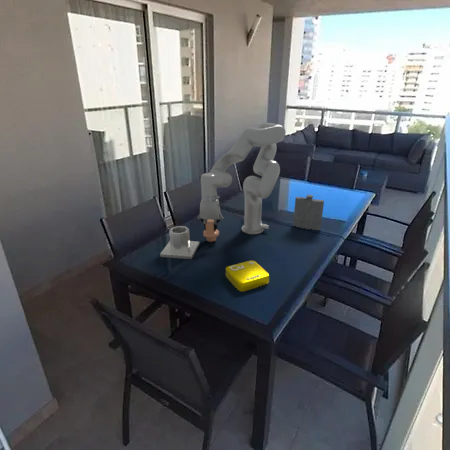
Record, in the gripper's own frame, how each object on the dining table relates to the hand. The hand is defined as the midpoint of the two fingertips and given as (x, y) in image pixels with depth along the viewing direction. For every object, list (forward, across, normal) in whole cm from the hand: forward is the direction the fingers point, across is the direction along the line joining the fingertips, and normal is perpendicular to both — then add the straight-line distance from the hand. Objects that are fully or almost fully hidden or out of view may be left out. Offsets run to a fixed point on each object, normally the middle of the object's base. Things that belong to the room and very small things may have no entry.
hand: (210, 229), depth 170 cm
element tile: (+7, -23, +33) cm, 41 cm away
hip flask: (+8, -52, -26) cm, 58 cm away
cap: (+6, 0, 0) cm, 6 cm away
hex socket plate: (+6, +14, +12) cm, 19 cm away
